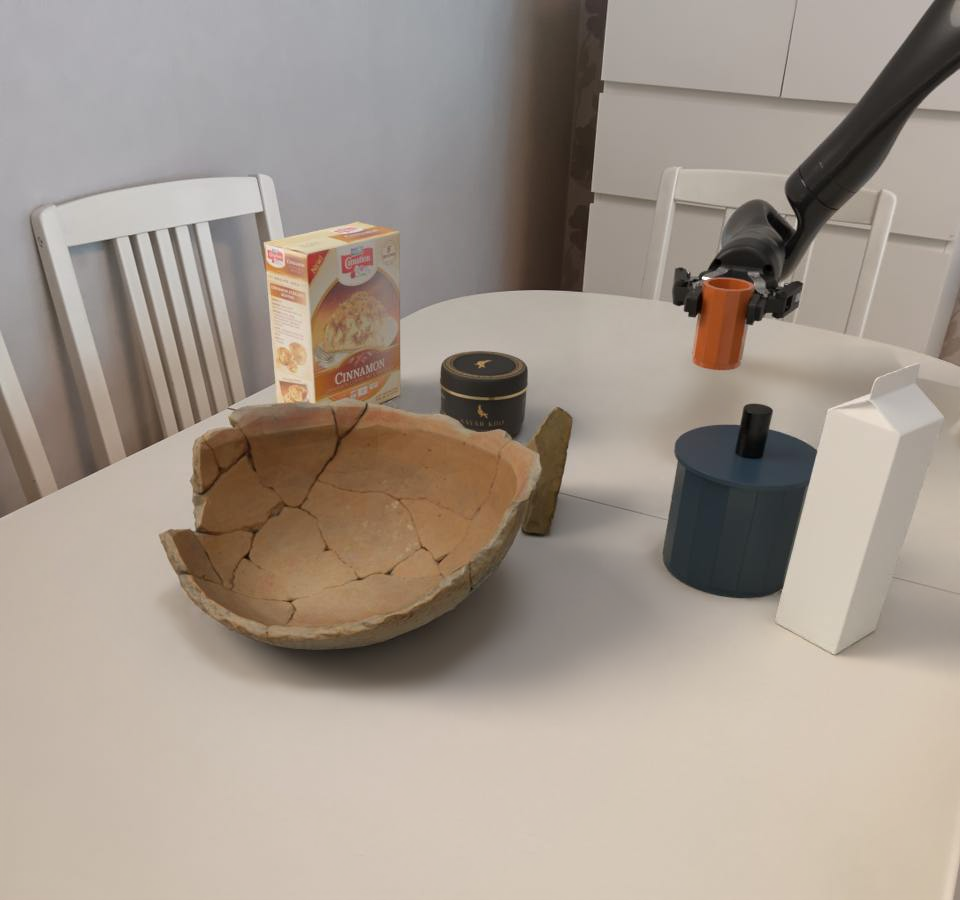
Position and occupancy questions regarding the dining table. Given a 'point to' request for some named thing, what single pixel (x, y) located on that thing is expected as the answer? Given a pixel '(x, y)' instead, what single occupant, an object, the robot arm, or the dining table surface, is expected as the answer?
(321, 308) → the coffeecake box
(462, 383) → the jar
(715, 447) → the pot lid
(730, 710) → the dining table surface
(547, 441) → the rock
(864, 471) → the milk
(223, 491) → the ceramic bowl
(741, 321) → the orange pipe segment
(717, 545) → the pot
